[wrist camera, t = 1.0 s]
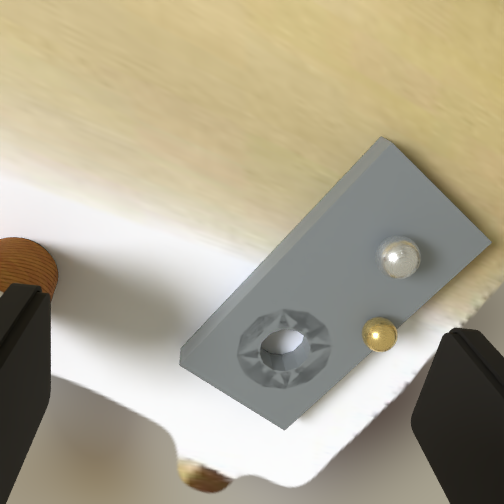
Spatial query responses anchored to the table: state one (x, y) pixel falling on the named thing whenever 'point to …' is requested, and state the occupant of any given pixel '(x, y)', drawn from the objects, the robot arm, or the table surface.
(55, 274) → the disposable coffee cup
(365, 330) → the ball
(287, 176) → the table surface
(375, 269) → the hole board
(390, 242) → the ball
